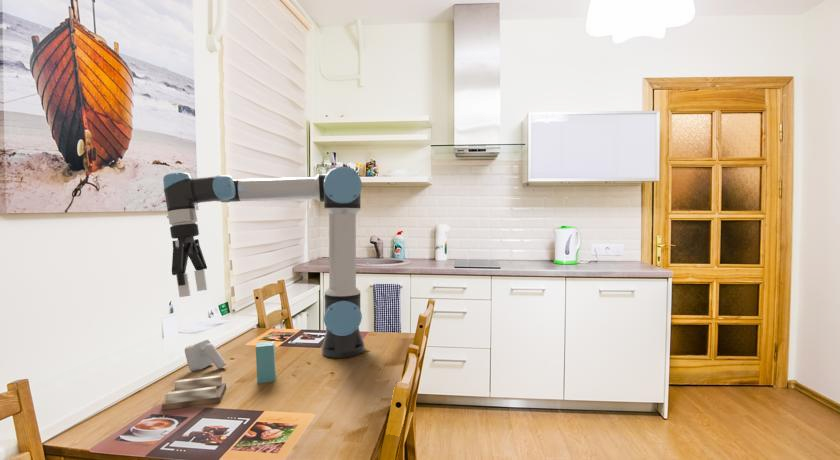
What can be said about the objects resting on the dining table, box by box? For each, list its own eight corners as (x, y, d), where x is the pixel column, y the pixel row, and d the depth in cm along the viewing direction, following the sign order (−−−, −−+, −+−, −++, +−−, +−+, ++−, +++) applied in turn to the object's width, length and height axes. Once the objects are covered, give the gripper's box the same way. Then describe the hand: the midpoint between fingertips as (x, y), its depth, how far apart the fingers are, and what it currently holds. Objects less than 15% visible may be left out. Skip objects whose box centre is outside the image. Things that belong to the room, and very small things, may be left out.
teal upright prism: (275, 375, 137) (274, 341, 136) (275, 381, 132) (273, 345, 132) (258, 378, 135) (257, 342, 135) (257, 383, 131) (255, 347, 131)
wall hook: (218, 371, 140) (210, 341, 140) (191, 378, 142) (183, 348, 142) (234, 363, 148) (226, 334, 148) (208, 369, 150) (200, 340, 150)
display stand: (226, 388, 128) (225, 374, 128) (220, 402, 118) (219, 387, 118) (172, 394, 124) (171, 381, 124) (162, 410, 115) (161, 395, 115)
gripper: (187, 226, 146) (196, 290, 146) (150, 225, 121) (162, 301, 121) (210, 223, 147) (220, 286, 147) (179, 221, 122) (190, 297, 122)
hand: (194, 293), depth 134 cm, fingers open, 13 cm apart
